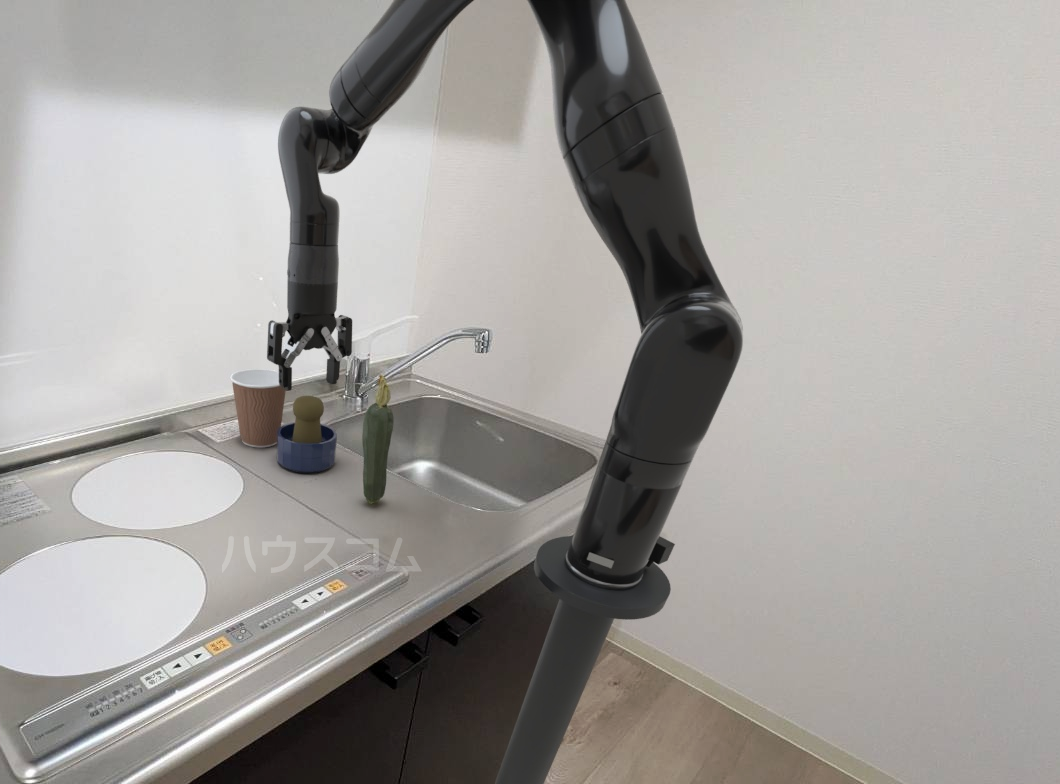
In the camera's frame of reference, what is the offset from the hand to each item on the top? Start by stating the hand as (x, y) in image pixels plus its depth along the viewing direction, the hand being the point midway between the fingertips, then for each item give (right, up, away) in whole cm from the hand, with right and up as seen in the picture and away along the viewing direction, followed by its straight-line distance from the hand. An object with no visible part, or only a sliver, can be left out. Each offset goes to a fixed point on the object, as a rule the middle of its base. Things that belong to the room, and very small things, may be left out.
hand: (309, 386), depth 95 cm
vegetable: (+9, -20, -4) cm, 23 cm away
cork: (-1, -11, +7) cm, 13 cm away
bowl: (-1, -11, +8) cm, 14 cm away
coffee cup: (-10, -6, +15) cm, 18 cm away
